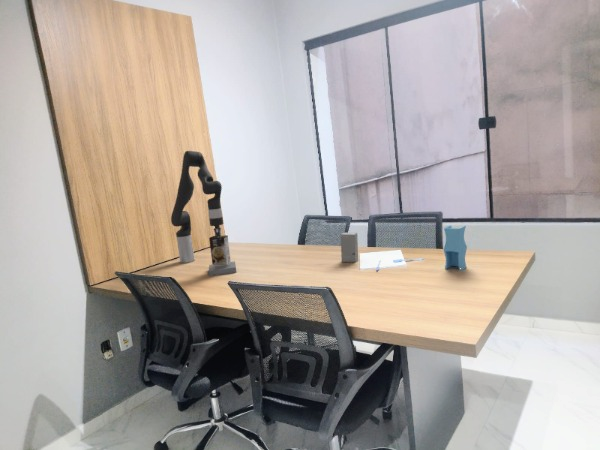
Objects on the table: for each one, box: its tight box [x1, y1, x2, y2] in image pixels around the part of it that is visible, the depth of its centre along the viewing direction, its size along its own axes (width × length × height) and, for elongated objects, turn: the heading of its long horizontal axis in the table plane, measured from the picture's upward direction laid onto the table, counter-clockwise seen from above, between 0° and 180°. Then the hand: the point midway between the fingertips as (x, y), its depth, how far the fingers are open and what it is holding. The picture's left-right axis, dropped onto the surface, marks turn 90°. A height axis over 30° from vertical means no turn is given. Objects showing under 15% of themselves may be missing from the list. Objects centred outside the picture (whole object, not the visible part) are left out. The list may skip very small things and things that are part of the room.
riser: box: [208, 260, 237, 277], centre depth 238 cm, size 15×15×3 cm
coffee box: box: [208, 235, 232, 265], centre depth 236 cm, size 9×6×16 cm
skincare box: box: [340, 232, 359, 263], centre depth 232 cm, size 8×7×16 cm
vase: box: [443, 224, 468, 272], centre depth 198 cm, size 8×8×20 cm
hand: (219, 245), depth 236 cm, fingers closed on coffee box, 8 cm apart
